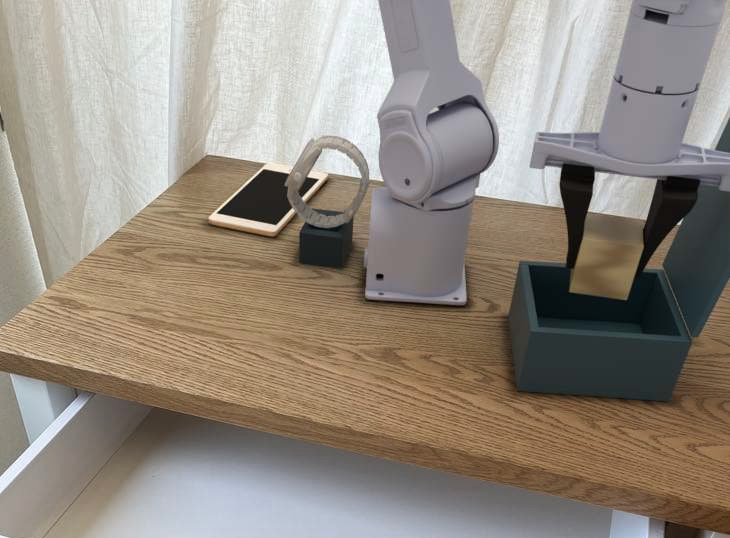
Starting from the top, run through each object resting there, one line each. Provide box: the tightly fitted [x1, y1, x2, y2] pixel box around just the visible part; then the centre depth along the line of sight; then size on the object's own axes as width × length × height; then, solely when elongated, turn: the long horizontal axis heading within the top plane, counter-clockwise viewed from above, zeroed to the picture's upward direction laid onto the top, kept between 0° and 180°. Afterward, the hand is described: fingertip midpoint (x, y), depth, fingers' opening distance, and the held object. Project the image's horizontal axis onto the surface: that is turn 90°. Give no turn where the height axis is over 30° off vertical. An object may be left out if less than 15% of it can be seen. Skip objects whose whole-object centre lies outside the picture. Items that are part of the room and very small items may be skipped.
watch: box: [285, 135, 371, 269], centre depth 80 cm, size 6×8×11 cm
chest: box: [507, 260, 693, 402], centre depth 70 cm, size 12×11×6 cm
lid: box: [661, 116, 730, 339], centre depth 63 cm, size 13×11×1 cm
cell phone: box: [207, 162, 329, 237], centre depth 92 cm, size 8×16×1 cm, turn 159°
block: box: [569, 213, 644, 300], centre depth 65 cm, size 4×4×4 cm
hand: (603, 267), depth 66 cm, fingers closed on block, 4 cm apart
